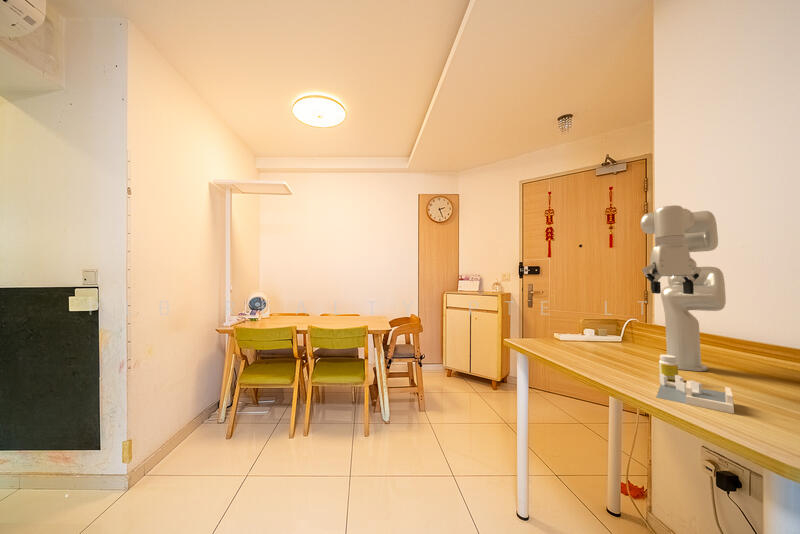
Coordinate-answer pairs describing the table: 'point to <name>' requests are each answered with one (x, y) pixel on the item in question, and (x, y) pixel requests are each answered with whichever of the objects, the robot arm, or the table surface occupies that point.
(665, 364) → the supplement bottle
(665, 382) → the clip
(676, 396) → the board
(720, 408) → the end holder
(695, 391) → the clip
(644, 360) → the table surface
